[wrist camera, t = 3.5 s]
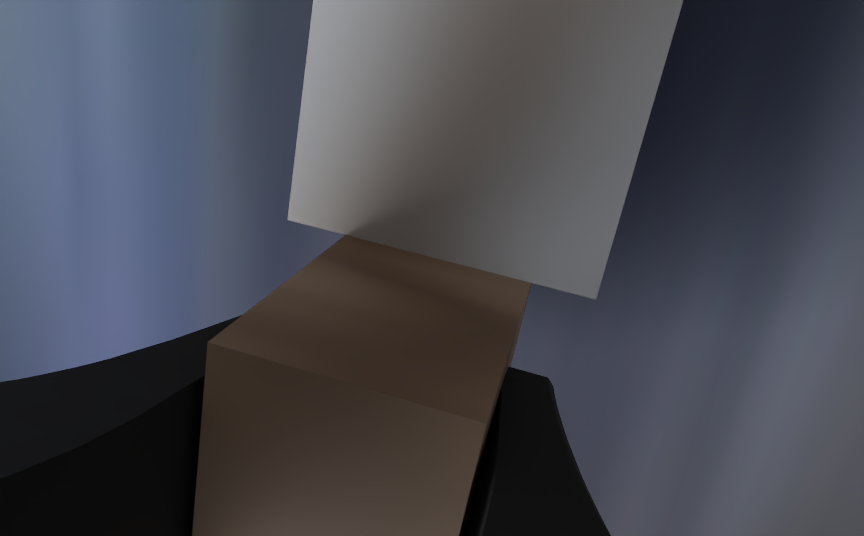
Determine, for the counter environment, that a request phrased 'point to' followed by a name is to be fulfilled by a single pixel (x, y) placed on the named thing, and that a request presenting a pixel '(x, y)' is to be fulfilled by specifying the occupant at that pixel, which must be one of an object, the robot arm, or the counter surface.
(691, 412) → the counter surface
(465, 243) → the two-tone stacked blocks
